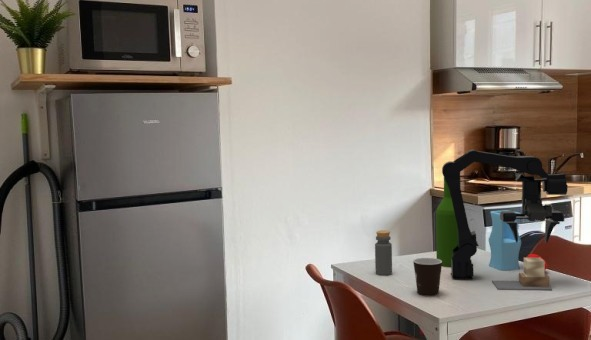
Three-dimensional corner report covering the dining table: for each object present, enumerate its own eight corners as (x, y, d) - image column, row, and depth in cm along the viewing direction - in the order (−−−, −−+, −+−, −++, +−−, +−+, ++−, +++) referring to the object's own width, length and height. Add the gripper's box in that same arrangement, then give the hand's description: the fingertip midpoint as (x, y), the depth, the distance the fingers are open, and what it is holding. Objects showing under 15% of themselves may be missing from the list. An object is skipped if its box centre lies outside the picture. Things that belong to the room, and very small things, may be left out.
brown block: (522, 286, 173) (522, 276, 173) (518, 282, 178) (518, 272, 178) (549, 286, 172) (549, 277, 172) (545, 282, 177) (545, 273, 177)
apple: (553, 258, 187) (536, 246, 194) (537, 264, 185) (520, 251, 192) (551, 274, 190) (534, 262, 197) (535, 280, 189) (518, 267, 195)
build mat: (497, 289, 172) (497, 288, 172) (492, 281, 181) (492, 280, 181) (552, 290, 170) (552, 289, 170) (543, 282, 179) (543, 281, 179)
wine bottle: (464, 266, 201) (463, 177, 199) (439, 267, 201) (438, 178, 199) (457, 261, 210) (456, 175, 207) (434, 261, 210) (432, 176, 208)
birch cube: (527, 277, 173) (527, 261, 173) (523, 272, 178) (523, 257, 178) (544, 277, 172) (544, 261, 172) (540, 272, 177) (540, 257, 177)
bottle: (373, 275, 194) (372, 232, 193) (377, 270, 199) (376, 229, 198) (390, 276, 192) (389, 233, 190) (393, 271, 197) (393, 230, 196)
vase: (501, 270, 194) (501, 214, 192) (488, 265, 202) (488, 211, 200) (521, 268, 196) (521, 213, 194) (507, 263, 203) (507, 209, 202)
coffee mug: (437, 298, 165) (436, 265, 165) (409, 294, 170) (409, 262, 169) (448, 288, 175) (448, 257, 174) (422, 285, 180) (422, 254, 179)
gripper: (506, 198, 173) (507, 247, 175) (570, 197, 170) (570, 247, 172) (499, 194, 184) (499, 240, 185) (559, 193, 181) (558, 240, 182)
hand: (531, 242), depth 181 cm, fingers open, 9 cm apart
